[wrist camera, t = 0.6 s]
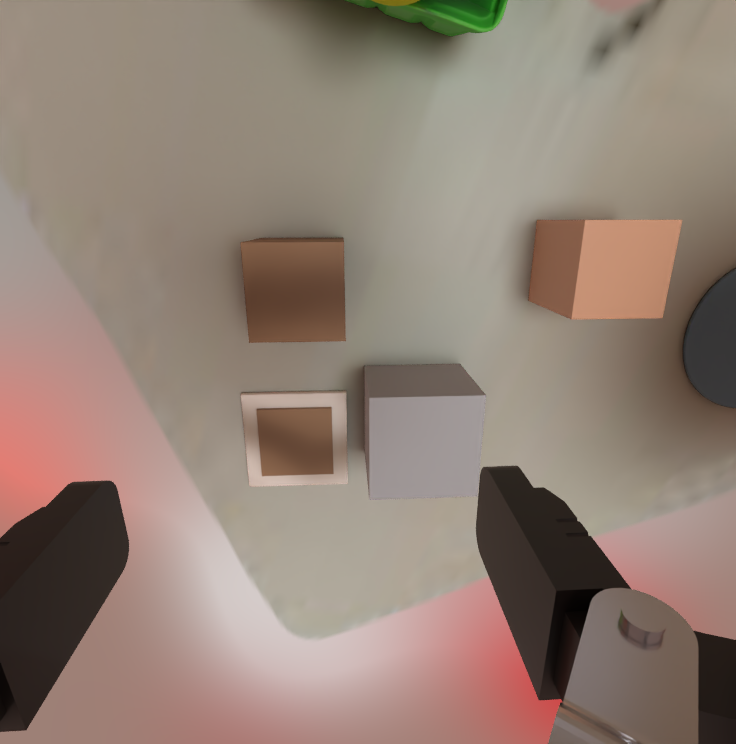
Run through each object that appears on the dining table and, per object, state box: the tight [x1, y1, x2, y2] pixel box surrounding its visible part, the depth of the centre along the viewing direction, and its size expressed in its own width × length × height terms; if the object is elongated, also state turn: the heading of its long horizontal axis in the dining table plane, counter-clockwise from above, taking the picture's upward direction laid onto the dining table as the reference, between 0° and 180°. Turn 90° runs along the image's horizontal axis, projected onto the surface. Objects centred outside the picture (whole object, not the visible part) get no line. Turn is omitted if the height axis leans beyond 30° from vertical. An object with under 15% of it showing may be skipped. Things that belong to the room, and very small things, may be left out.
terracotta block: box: [528, 220, 682, 319], centre depth 27 cm, size 5×5×6 cm
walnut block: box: [241, 238, 346, 343], centre depth 26 cm, size 5×5×6 cm
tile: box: [241, 391, 348, 487], centre depth 32 cm, size 7×7×1 cm
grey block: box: [364, 364, 486, 500], centre depth 29 cm, size 6×6×6 cm
